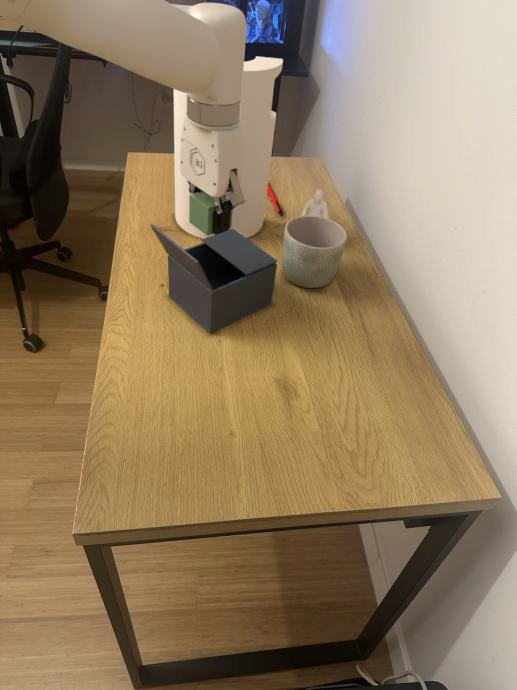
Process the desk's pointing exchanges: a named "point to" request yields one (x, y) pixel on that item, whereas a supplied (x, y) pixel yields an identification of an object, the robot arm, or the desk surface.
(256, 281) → the carton
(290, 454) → the desk surface
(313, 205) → the figurine
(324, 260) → the planter
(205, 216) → the block
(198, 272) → the flap
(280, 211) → the pen
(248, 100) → the white rounded tall casing
